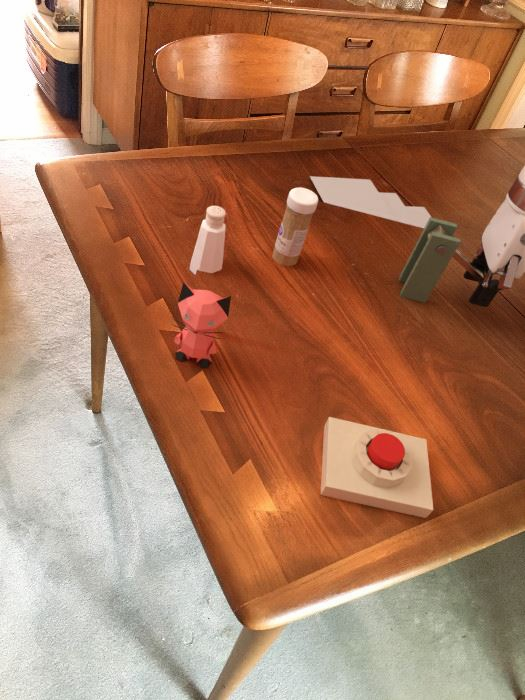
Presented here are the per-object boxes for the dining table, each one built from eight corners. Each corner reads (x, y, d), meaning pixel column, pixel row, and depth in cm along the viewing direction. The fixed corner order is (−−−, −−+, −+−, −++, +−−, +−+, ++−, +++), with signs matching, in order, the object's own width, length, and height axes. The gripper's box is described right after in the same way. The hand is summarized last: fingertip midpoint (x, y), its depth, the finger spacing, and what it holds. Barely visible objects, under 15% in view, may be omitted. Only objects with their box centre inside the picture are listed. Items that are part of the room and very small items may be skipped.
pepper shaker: (212, 285, 85) (224, 226, 77) (182, 270, 86) (190, 210, 78) (228, 267, 89) (241, 209, 81) (199, 253, 90) (209, 194, 82)
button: (398, 444, 68) (404, 437, 66) (400, 473, 65) (406, 465, 64) (367, 437, 67) (372, 429, 66) (367, 465, 65) (372, 458, 63)
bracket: (439, 287, 98) (478, 222, 88) (444, 322, 91) (487, 256, 82) (374, 270, 97) (405, 203, 87) (375, 304, 91) (409, 236, 81)
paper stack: (407, 184, 120) (409, 181, 120) (462, 259, 105) (463, 256, 105) (308, 179, 113) (309, 176, 112) (351, 259, 97) (353, 256, 97)
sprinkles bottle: (265, 257, 93) (284, 187, 83) (288, 254, 95) (310, 185, 85) (277, 275, 90) (298, 204, 81) (301, 271, 92) (324, 202, 83)
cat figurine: (162, 365, 73) (170, 298, 64) (177, 329, 78) (186, 263, 69) (214, 379, 73) (229, 315, 64) (225, 343, 78) (241, 279, 69)
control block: (419, 448, 73) (432, 431, 70) (425, 518, 66) (440, 503, 63) (324, 426, 72) (333, 408, 69) (320, 495, 65) (330, 478, 62)
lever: (476, 275, 93) (489, 267, 91) (481, 296, 89) (494, 288, 88) (426, 228, 88) (438, 218, 86) (429, 248, 84) (442, 239, 82)
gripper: (577, 239, 73) (505, 332, 86) (547, 174, 85) (487, 265, 98) (524, 224, 73) (459, 321, 86) (501, 161, 84) (447, 255, 98)
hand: (475, 290), depth 92 cm, fingers closed on lever, 5 cm apart
